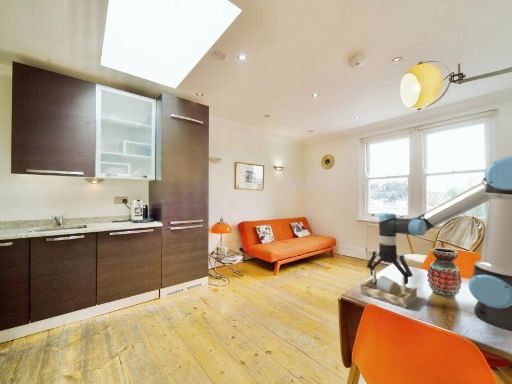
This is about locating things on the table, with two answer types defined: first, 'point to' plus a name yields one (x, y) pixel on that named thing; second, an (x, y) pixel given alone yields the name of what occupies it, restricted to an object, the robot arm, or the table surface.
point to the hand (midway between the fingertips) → (388, 285)
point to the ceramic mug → (388, 286)
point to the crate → (400, 300)
